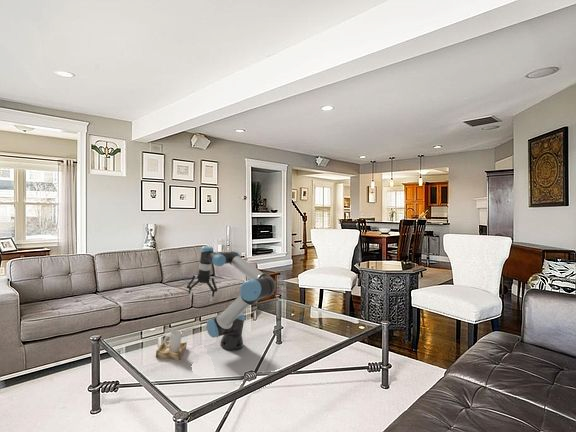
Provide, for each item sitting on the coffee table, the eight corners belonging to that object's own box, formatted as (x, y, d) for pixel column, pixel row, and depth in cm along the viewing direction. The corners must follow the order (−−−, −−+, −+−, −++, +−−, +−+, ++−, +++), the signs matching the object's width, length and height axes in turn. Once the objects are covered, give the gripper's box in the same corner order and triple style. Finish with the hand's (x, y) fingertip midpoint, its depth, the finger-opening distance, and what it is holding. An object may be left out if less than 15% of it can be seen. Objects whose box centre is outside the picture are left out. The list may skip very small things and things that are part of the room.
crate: (185, 348, 220) (186, 342, 220) (180, 360, 206) (181, 353, 205) (163, 345, 219) (163, 339, 219) (155, 357, 205) (156, 350, 204)
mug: (179, 348, 217) (181, 329, 216) (180, 353, 211) (182, 334, 210) (162, 349, 213) (164, 330, 212) (163, 354, 207) (165, 335, 206)
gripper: (224, 270, 236) (219, 300, 238) (187, 265, 235) (183, 295, 237) (222, 273, 229) (218, 304, 231) (184, 268, 227) (180, 299, 229)
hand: (200, 299), depth 234 cm, fingers open, 13 cm apart
